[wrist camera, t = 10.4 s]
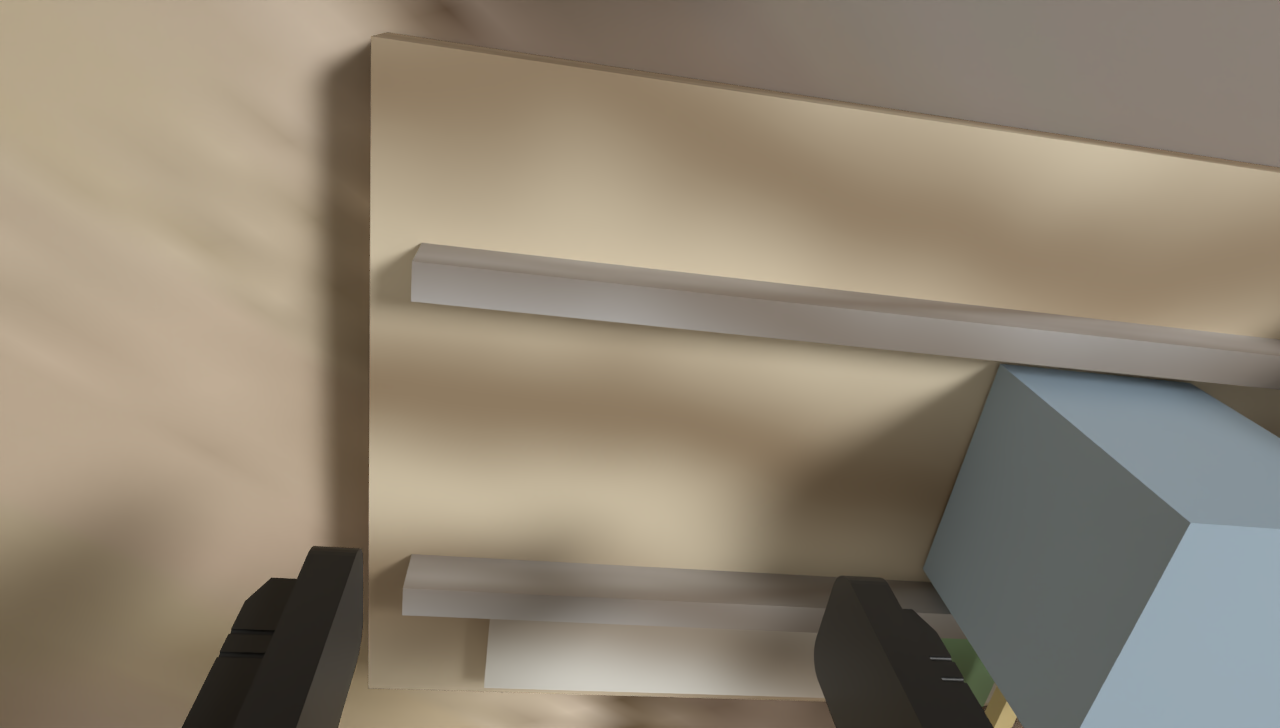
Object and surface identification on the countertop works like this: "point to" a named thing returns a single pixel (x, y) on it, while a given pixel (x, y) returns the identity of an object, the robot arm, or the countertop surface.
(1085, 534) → the gauge slider
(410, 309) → the base
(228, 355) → the countertop surface
